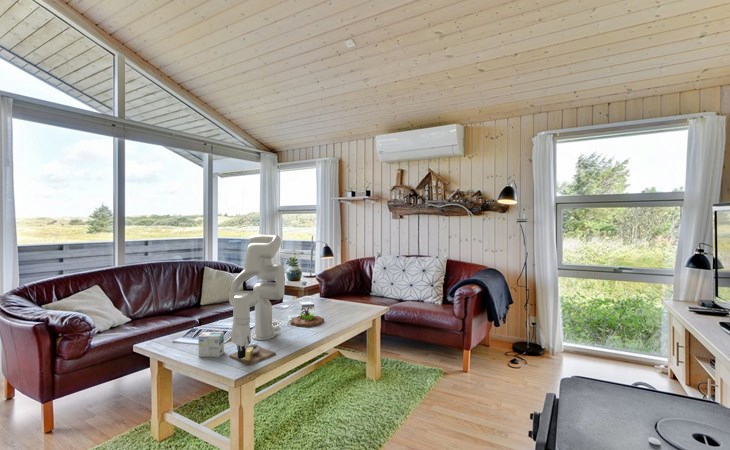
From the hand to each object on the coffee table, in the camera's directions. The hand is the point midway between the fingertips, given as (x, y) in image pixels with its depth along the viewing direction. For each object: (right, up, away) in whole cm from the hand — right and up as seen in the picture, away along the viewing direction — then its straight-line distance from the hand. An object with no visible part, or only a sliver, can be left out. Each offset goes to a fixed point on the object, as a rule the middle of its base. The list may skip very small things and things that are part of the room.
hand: (241, 357), depth 177 cm
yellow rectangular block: (+3, 0, +5) cm, 6 cm away
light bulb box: (-18, -2, +8) cm, 20 cm away
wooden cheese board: (+3, -2, +7) cm, 8 cm away
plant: (+22, 0, +62) cm, 66 cm away
